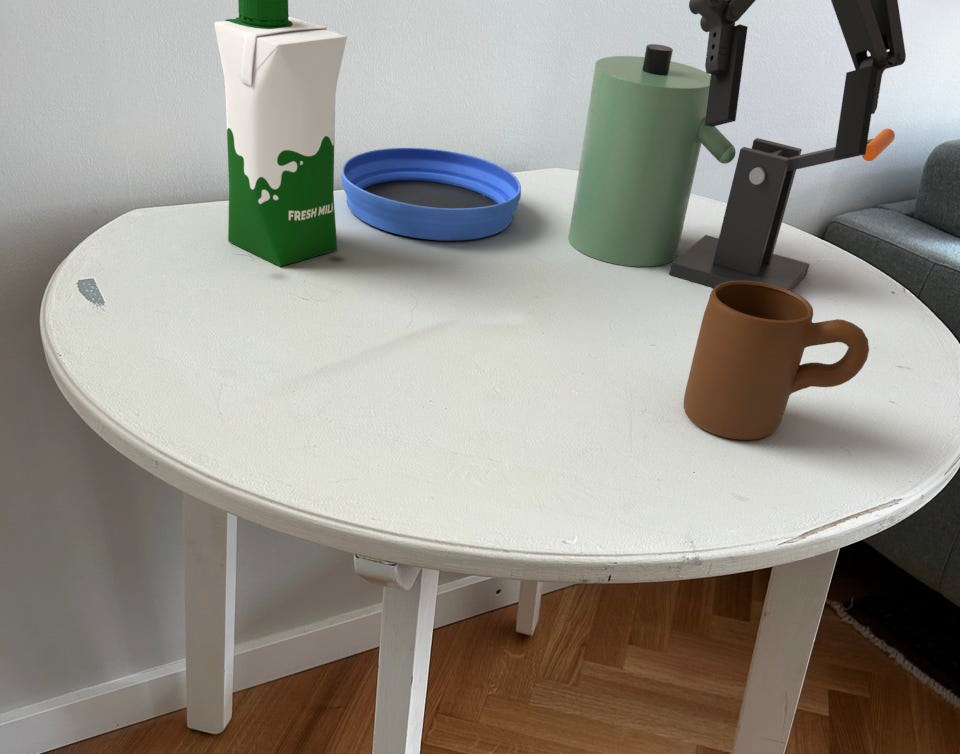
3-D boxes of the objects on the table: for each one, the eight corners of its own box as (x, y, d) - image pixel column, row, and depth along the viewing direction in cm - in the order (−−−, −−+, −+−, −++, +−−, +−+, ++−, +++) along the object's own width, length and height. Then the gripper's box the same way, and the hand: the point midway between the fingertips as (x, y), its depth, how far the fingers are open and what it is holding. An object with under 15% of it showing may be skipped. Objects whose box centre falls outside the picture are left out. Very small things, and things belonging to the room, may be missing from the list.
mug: (839, 421, 87) (879, 305, 81) (835, 467, 81) (878, 346, 75) (688, 386, 88) (716, 271, 83) (673, 428, 83) (702, 308, 77)
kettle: (725, 254, 113) (773, 59, 101) (688, 286, 105) (736, 79, 94) (594, 217, 117) (627, 26, 106) (550, 245, 109) (579, 43, 98)
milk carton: (286, 222, 107) (284, -16, 94) (352, 252, 103) (360, 8, 90) (213, 241, 101) (201, -9, 89) (280, 273, 97) (277, 16, 84)
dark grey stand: (806, 275, 110) (843, 151, 103) (778, 306, 103) (815, 176, 96) (703, 246, 114) (731, 124, 106) (668, 274, 107) (696, 145, 99)
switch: (896, 148, 99) (893, 120, 98) (879, 166, 95) (875, 136, 93) (764, 177, 106) (760, 150, 105) (742, 194, 101) (737, 167, 100)
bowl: (328, 179, 118) (329, 144, 115) (493, 184, 122) (496, 150, 120) (355, 243, 104) (356, 205, 102) (538, 246, 109) (543, 209, 107)
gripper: (906, -98, 92) (864, 174, 97) (665, -198, 81) (630, 116, 85) (983, -130, 86) (934, 162, 90) (733, -245, 74) (691, 98, 79)
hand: (786, 140), depth 88 cm, fingers open, 13 cm apart
